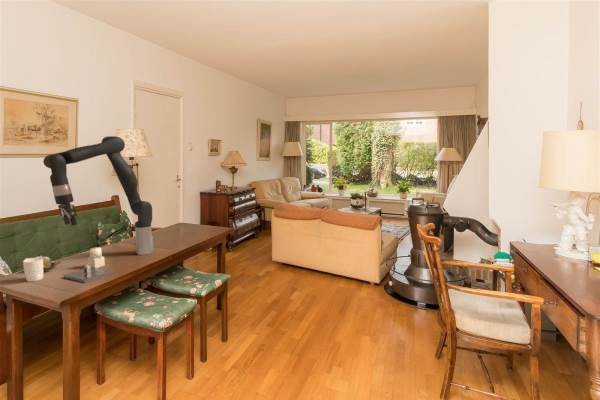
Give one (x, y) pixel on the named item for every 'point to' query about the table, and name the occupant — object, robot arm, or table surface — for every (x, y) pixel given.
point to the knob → (96, 258)
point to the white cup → (33, 269)
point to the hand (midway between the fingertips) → (70, 224)
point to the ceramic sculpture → (47, 262)
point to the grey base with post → (87, 274)
